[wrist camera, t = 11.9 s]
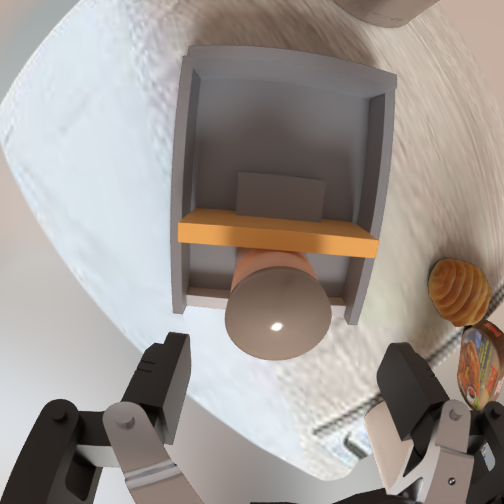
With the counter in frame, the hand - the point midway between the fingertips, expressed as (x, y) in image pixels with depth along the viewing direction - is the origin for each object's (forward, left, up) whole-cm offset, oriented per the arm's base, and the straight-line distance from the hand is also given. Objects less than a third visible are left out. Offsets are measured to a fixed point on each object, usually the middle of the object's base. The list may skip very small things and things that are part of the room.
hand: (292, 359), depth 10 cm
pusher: (-4, 0, -13) cm, 13 cm away
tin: (+12, +29, -13) cm, 34 cm away
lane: (-6, 0, -13) cm, 14 cm away
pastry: (+3, +21, -14) cm, 25 cm away
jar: (+1, 0, -12) cm, 12 cm away
